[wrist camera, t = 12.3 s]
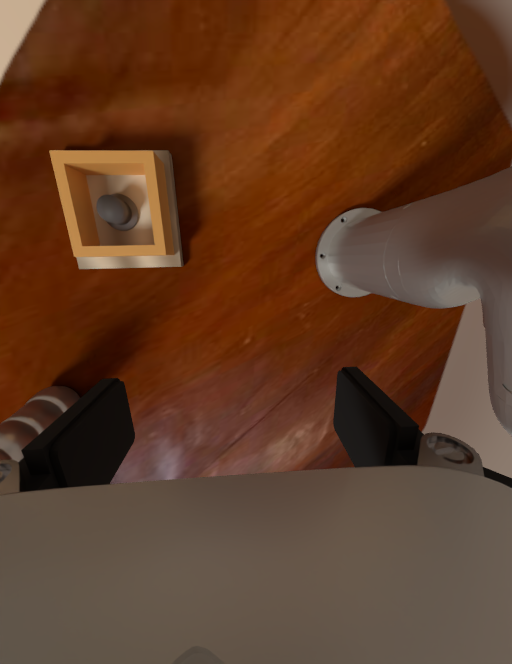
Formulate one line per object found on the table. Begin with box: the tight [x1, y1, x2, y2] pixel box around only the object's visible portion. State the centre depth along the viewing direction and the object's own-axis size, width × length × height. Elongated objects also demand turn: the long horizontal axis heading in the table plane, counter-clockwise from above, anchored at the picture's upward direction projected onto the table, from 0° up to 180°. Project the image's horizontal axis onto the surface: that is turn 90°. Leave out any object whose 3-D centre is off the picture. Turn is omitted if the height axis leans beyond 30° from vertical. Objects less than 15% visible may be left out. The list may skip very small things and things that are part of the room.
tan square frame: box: [49, 151, 174, 257], centre depth 30 cm, size 11×11×4 cm
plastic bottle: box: [0, 386, 80, 462], centre depth 31 cm, size 6×7×20 cm
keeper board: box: [51, 150, 184, 269], centre depth 31 cm, size 14×14×4 cm
